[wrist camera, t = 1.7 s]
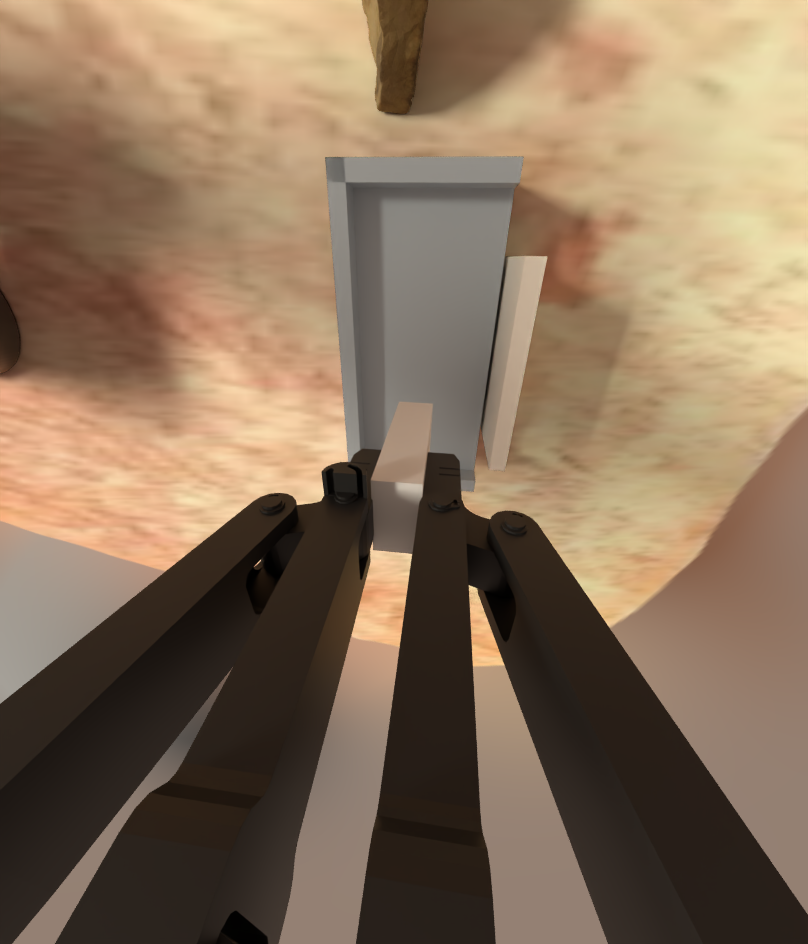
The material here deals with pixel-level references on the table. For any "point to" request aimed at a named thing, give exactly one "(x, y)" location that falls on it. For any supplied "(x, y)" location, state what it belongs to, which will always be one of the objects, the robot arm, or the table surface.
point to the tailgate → (510, 353)
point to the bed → (418, 290)
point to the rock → (395, 49)
